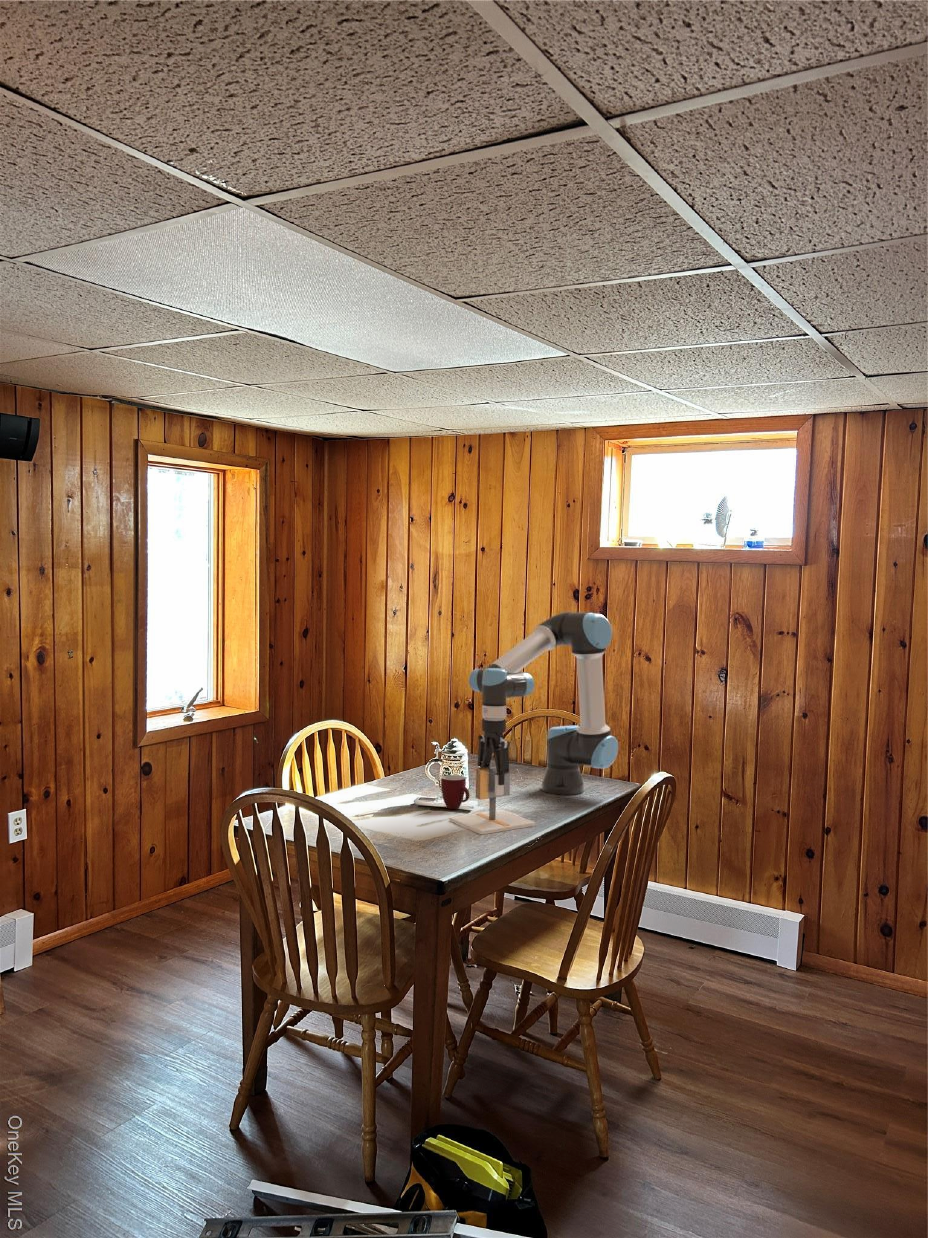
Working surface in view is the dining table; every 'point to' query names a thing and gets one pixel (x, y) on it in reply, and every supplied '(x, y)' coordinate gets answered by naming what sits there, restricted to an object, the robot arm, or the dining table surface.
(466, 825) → the post base
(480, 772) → the grey slab
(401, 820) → the dining table surface
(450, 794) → the mug
